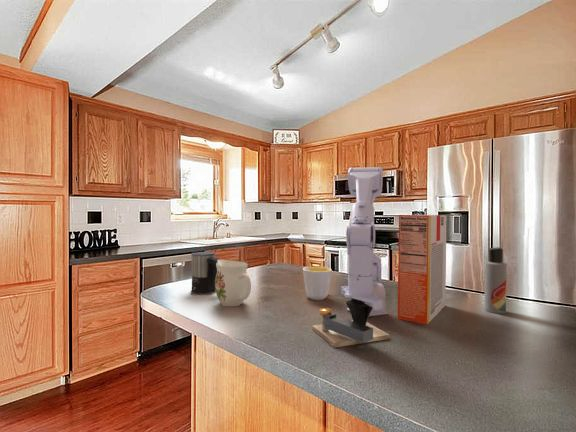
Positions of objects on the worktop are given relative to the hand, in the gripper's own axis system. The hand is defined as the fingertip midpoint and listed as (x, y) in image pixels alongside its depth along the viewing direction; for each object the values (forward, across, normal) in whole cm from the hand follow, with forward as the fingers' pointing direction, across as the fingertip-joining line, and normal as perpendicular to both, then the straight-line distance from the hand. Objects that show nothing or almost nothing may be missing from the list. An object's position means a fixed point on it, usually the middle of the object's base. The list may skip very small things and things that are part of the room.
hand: (359, 331), depth 77 cm
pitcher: (+3, -40, -22) cm, 46 cm away
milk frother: (+3, -62, -26) cm, 67 cm away
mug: (+3, -39, +9) cm, 40 cm away
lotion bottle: (+3, -6, +54) cm, 54 cm away
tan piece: (+2, -5, 0) cm, 5 cm away
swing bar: (0, -1, -4) cm, 4 cm away
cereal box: (+3, -13, +32) cm, 34 cm away
